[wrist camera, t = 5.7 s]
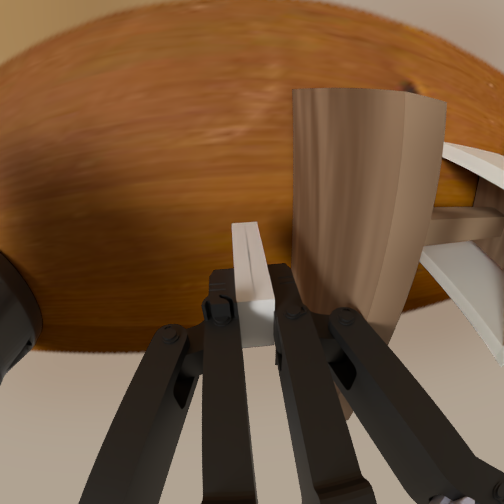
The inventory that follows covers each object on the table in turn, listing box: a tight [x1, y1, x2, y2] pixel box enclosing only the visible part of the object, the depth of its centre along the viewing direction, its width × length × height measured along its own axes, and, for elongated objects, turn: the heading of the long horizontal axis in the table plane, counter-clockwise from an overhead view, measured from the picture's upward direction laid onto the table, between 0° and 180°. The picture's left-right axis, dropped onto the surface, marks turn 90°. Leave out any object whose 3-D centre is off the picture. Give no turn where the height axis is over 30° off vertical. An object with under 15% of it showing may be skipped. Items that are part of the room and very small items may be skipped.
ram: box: [291, 88, 504, 420], centre depth 15 cm, size 20×17×12 cm
